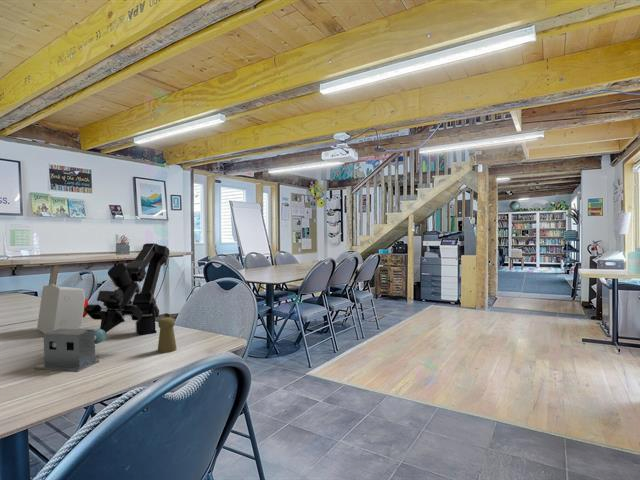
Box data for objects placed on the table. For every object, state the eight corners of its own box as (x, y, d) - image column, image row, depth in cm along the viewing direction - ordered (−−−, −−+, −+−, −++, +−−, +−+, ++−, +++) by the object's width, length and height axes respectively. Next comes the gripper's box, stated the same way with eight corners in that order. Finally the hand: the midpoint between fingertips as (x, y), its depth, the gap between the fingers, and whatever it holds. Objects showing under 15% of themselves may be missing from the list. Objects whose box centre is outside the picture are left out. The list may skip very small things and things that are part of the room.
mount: (57, 359, 118) (56, 328, 118) (99, 361, 116) (98, 329, 116) (34, 368, 110) (33, 335, 110) (78, 371, 108) (77, 336, 108)
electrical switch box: (92, 333, 159) (98, 286, 162) (52, 336, 147) (59, 285, 149) (75, 329, 167) (81, 284, 169) (36, 331, 155) (43, 283, 157)
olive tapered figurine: (180, 348, 129) (179, 316, 128) (168, 353, 123) (167, 320, 123) (166, 346, 130) (165, 315, 130) (153, 352, 125) (152, 319, 125)
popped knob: (94, 341, 123) (94, 328, 123) (106, 342, 122) (106, 328, 122) (75, 349, 115) (74, 334, 115) (87, 349, 114) (87, 335, 114)
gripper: (87, 281, 129) (61, 320, 118) (136, 281, 126) (113, 321, 115) (104, 300, 137) (81, 338, 126) (151, 300, 134) (131, 339, 123)
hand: (101, 334), depth 122 cm, fingers closed, pressing on popped knob
